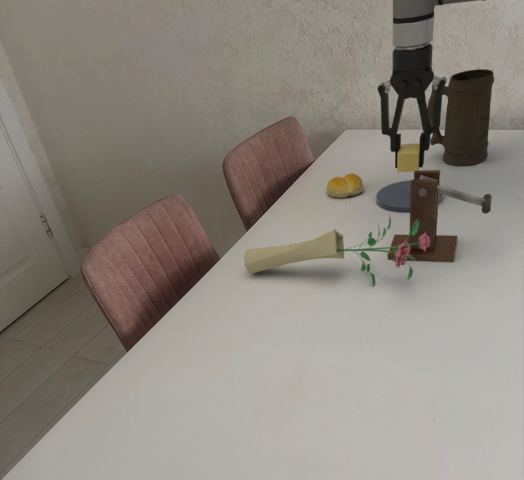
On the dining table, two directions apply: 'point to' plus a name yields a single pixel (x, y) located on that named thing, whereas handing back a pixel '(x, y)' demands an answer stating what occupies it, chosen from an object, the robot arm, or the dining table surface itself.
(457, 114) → the beer stein
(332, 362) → the dining table surface
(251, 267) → the flower vase
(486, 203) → the grey t-shaped bar
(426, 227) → the brown wooden stand
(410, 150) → the butter pat
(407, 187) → the plate
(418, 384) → the dining table surface
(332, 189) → the bread roll
